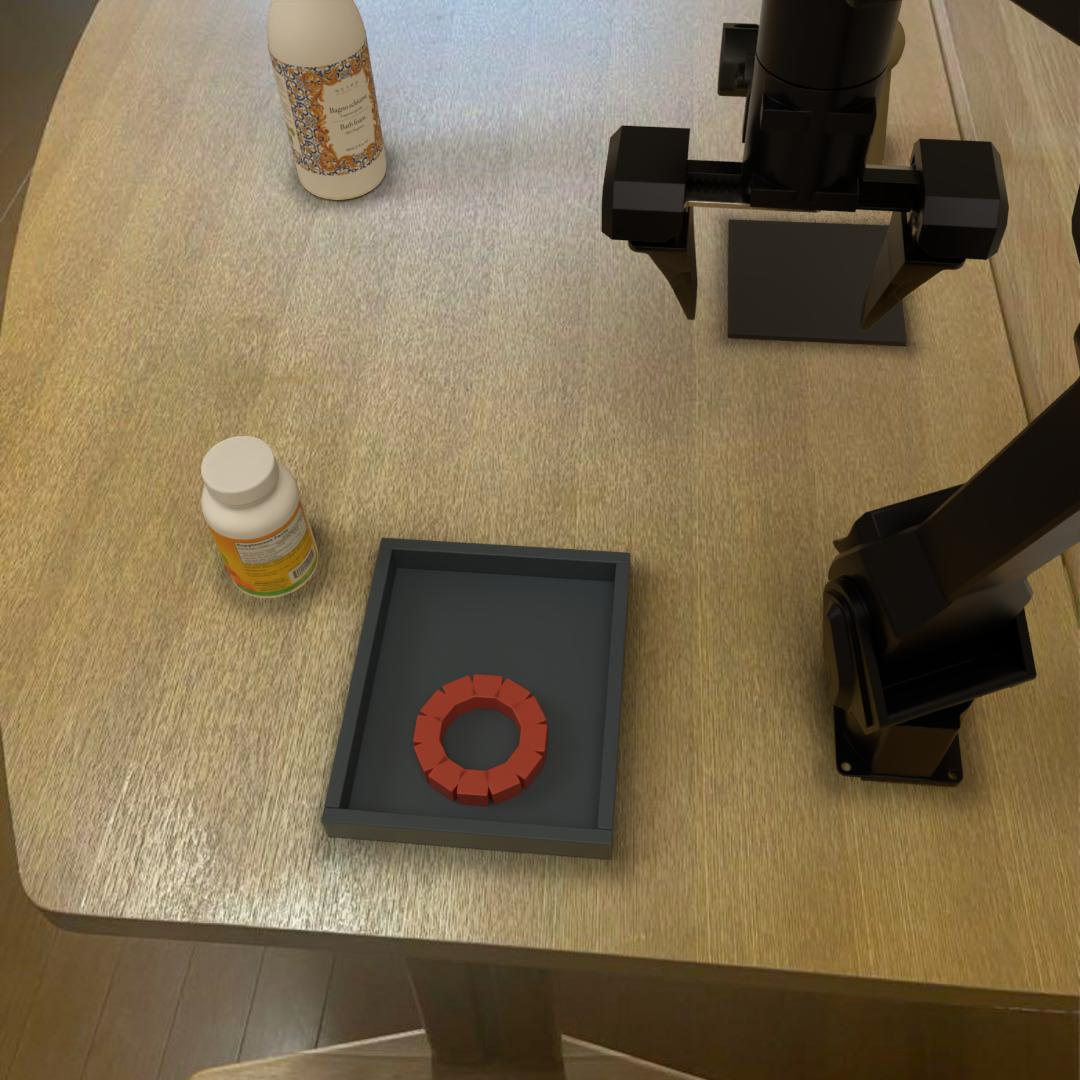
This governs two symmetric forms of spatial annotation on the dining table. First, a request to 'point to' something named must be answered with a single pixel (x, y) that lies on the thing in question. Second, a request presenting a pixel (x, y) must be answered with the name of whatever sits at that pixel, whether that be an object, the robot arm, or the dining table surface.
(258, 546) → the supplement bottle
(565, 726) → the tray
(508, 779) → the ring
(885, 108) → the cork
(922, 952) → the dining table surface
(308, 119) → the bath foam
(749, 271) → the mat
